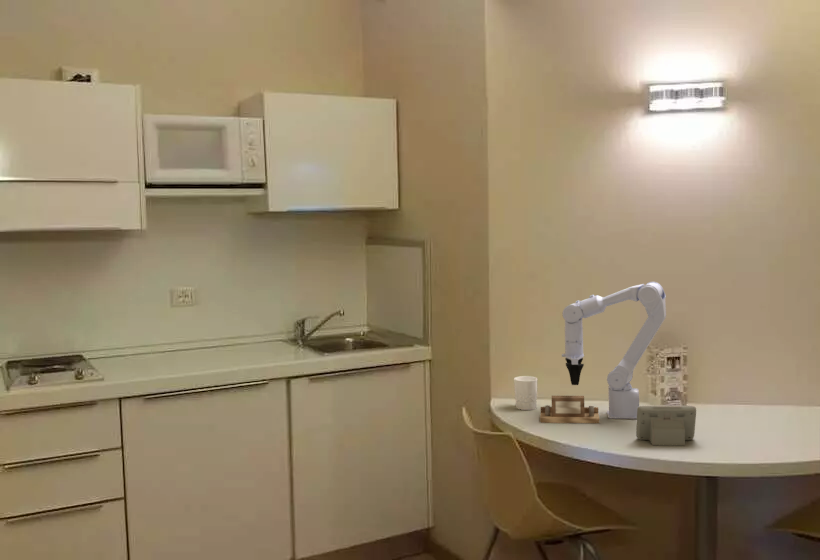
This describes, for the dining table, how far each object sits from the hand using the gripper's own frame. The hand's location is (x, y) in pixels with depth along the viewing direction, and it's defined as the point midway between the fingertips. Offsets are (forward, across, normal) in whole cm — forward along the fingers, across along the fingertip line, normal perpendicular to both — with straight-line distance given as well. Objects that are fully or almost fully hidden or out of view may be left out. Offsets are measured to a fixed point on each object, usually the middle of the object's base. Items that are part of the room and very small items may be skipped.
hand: (574, 382), depth 259 cm
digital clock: (+10, +30, +24) cm, 40 cm away
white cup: (+10, -5, -16) cm, 20 cm away
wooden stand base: (+10, +10, -2) cm, 14 cm away
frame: (+8, +10, -2) cm, 13 cm away
